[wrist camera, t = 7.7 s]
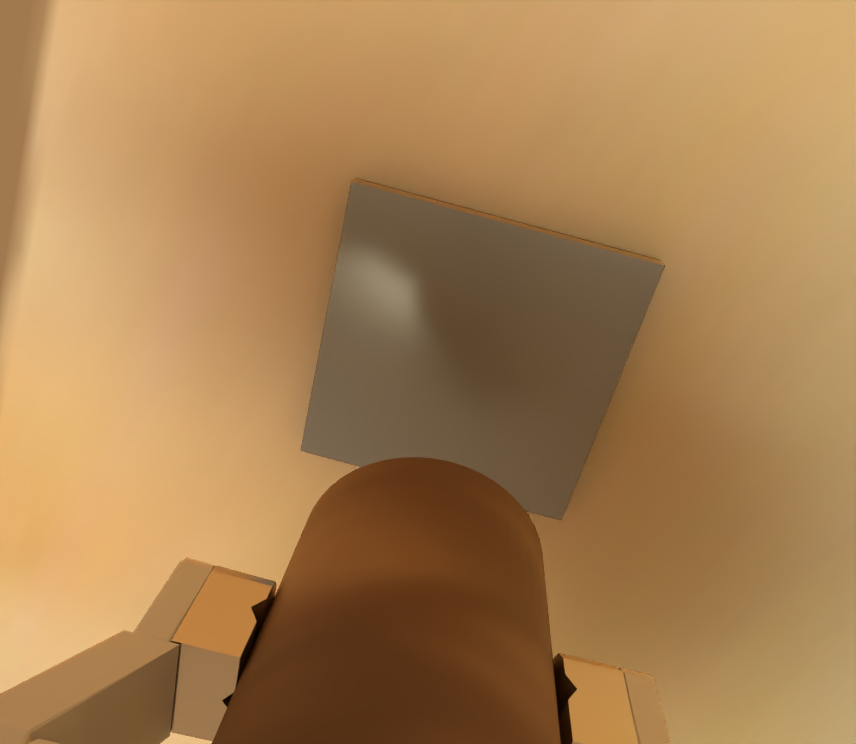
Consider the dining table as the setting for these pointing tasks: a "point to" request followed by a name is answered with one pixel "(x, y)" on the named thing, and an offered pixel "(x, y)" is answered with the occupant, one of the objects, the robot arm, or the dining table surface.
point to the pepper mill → (405, 619)
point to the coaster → (472, 343)
